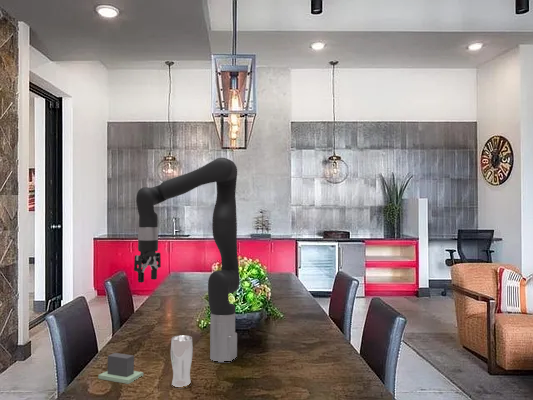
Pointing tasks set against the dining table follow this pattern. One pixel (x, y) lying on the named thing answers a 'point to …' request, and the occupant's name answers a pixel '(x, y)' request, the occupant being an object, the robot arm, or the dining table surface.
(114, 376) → the header board
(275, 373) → the dining table surface
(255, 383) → the dining table surface
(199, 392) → the dining table surface
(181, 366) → the beer glass
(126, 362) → the block
